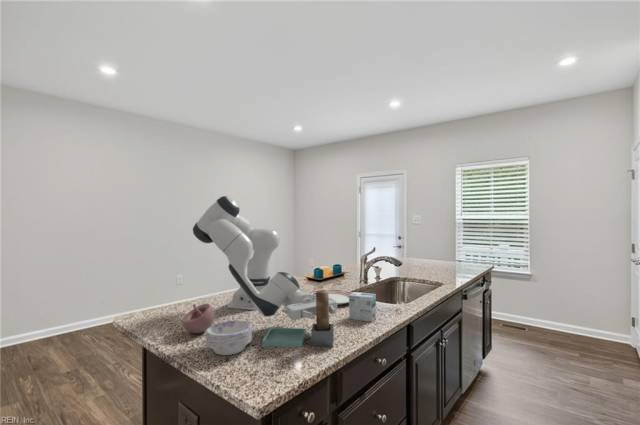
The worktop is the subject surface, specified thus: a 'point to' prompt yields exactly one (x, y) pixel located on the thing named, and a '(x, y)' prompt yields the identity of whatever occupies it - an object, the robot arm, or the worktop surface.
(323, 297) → the dowel pin
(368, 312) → the light bulb box
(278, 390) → the worktop surface
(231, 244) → the robot arm
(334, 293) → the dinner plate
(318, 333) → the grey square socket base
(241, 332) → the paper bowls
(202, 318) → the mortar and pestle
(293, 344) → the tray
